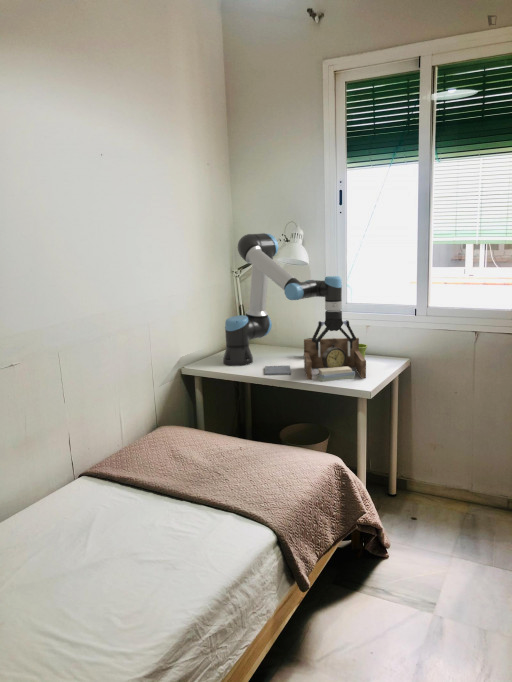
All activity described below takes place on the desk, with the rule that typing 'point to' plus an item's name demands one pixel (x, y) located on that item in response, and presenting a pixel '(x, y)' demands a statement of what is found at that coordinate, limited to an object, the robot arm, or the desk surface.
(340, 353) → the alarm clock
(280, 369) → the mat
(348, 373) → the book stack
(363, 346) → the plant pot
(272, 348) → the desk surface
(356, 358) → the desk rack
